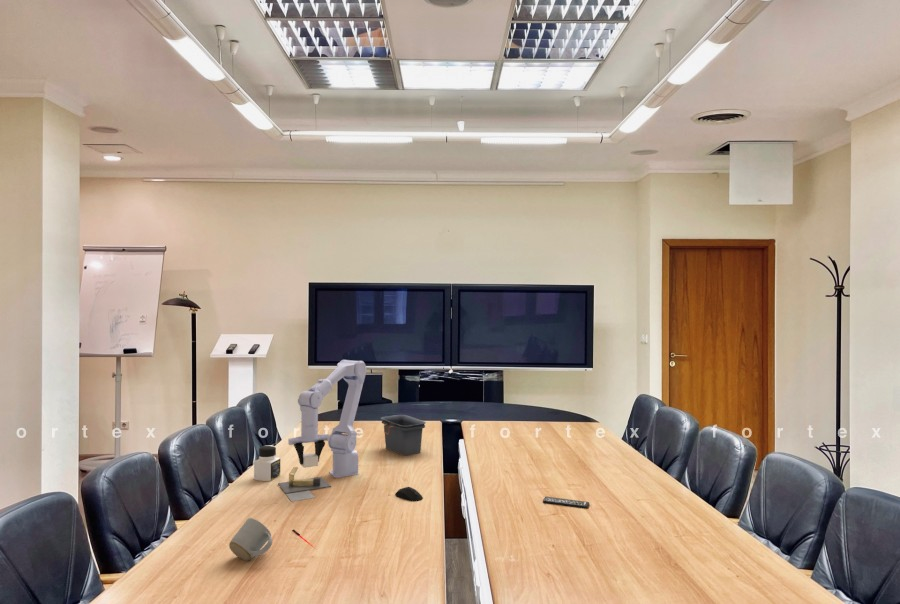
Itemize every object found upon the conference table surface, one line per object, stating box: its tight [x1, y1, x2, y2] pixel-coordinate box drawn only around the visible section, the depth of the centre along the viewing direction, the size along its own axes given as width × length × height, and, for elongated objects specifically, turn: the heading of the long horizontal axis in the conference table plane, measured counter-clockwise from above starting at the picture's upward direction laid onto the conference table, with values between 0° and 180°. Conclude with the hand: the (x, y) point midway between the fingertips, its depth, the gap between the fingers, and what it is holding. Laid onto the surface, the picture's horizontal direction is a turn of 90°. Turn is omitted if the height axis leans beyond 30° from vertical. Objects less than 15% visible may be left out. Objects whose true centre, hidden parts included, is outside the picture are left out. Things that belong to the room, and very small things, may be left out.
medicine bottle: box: [253, 444, 281, 482], centre depth 214 cm, size 7×7×12 cm
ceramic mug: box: [228, 517, 273, 562], centre depth 146 cm, size 11×8×8 cm
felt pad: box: [285, 490, 316, 503], centre depth 193 cm, size 8×8×1 cm
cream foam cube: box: [299, 452, 319, 469], centre depth 203 cm, size 5×5×4 cm
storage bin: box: [380, 414, 427, 457], centre depth 252 cm, size 21×16×14 cm
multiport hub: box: [542, 496, 590, 509], centre depth 185 cm, size 4×14×2 cm, turn 68°
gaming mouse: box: [394, 486, 424, 503], centre depth 192 cm, size 6×15×4 cm, turn 43°
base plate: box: [277, 476, 332, 495], centre depth 204 cm, size 16×12×1 cm
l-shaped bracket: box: [288, 466, 321, 486], centre depth 207 cm, size 10×11×4 cm
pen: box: [291, 529, 317, 550], centre depth 157 cm, size 1×19×1 cm, turn 37°
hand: (309, 462), depth 203 cm, fingers closed on cream foam cube, 5 cm apart
